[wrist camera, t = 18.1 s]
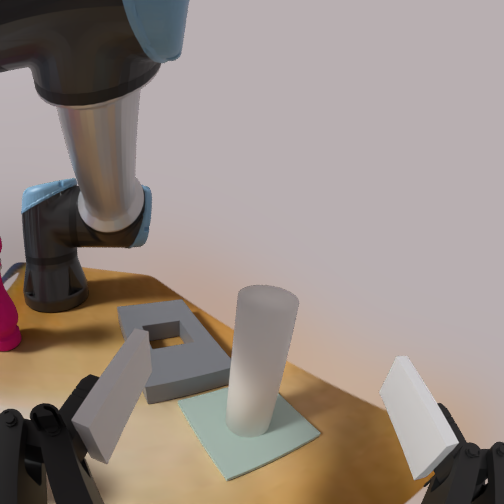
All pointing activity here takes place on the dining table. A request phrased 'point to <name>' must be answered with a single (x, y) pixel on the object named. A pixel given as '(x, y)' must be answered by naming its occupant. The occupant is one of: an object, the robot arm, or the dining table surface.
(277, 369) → the plug
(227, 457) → the pad
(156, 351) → the grey holed plate
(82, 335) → the dining table surface
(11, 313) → the pink bowling pin
